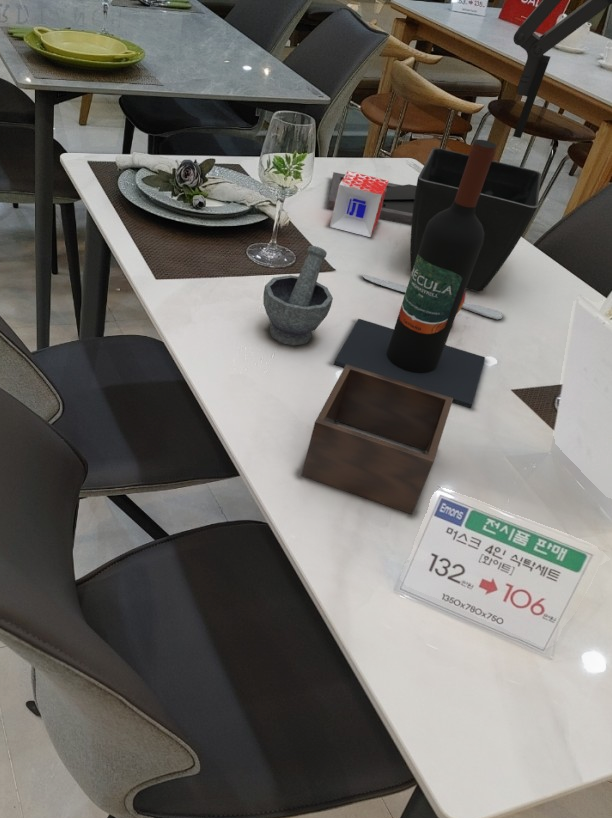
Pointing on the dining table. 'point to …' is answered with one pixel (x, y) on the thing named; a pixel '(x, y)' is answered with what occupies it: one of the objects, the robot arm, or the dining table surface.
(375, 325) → the slate mat
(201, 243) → the dining table surface
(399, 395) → the open wooden box
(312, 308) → the mortar and pestle
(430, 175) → the flower pot
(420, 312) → the wine bottle
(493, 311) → the butter knife
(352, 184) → the red and white box
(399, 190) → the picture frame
